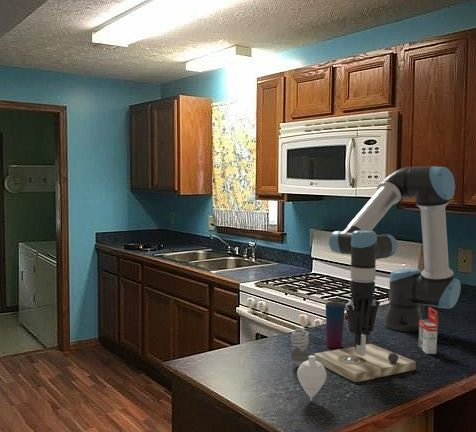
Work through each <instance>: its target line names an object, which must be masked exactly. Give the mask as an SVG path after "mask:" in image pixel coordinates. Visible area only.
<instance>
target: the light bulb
mask: <svg viewBox="0 0 476 432" xmlns="http://www.w3.org/2000/svg"><path fill="white" fill-rule="evenodd" d="M290 335H291V336H290V338H291V339H290V341H291V346H292V349H290V353H291V360H292V361H295V365H296V366H297V367H299V366H300V365H301V364H302V363H303V362H305V361H308V360H309V350H308V347H309V343H310V336H309V335H310V333H309V332H308V331H307V330H305V329H303V328H295V331H292V332H291V334H290Z"/></svg>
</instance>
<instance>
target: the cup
mask: <svg viewBox="0 0 476 432" xmlns="http://www.w3.org/2000/svg"><path fill="white" fill-rule="evenodd" d="M344 304H345V303H344V302H339V301H328V302H326V303H325V321H326V322H325V325H326V326H325V327H326V346H327V347H328V348H331V349H341V348H342V345H343V333H344V322H345V313H346V309H345V307H344Z"/></svg>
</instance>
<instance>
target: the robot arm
mask: <svg viewBox="0 0 476 432" xmlns="http://www.w3.org/2000/svg"><path fill="white" fill-rule="evenodd" d="M455 191H456V183H455V178H454V175H453V173H452V171H451V170H450V169H449V168H447V167H445V166H436V165H433V166H432V165H431V166H429V165H428V166H405V167H401V168H399V169H397V170H395V171H393V172H391V173H390V174H389V175H388V176H386V177H385V178H384V179H383V180H381V182H380V183H379V184H378V185H377V188H376V191H375V193H374V194H373V195H372V197H371V198H370V199H369V200H368V201H367V202H366V203H365V204H364V206H363V207H362V208H361V210H360V211H359V212H358V213H357V214H356V215H355V217H353V219H351V221H350V222H349V223H348V224H347V226H346V227H345V228H344V229H343V230H342V231H341V230H337V231H336V230H335V231H332V232H331V234H330V236H329V239H328V246H329V248H330V250H331V251H332V252H334V253H337V254H341V255H349V256H350V257H351V258H350V259H351V260H350V279H351V280H350V282H349V285H350V286H349V289H350V290H349V291H350V294H351V296H350V298H349V301H348V302H347V303H344V307H345V313H346V317H347V323H348V328H349V332H350V333H352V334H354V342H355V344H356V354H358V355H360V356H365V353H366V345H367V344H368V336H370V335H371V332H373V331H374V326H375V322H376V318H377V313H378V308H379V307H380V305H381V302H380V300H376V299H375V293H376V282H375V280H376V265H377V264H376V263H377V262H376V261H377V260H381V259H387V258H390V257H392V256H395V254H396V253H397V251H398V242H397V239H396V238H395V237H394V236H393V235H392V234H384V233H382V234H377V233H376V231H373V229H374V228H375V227H376V226H377V225H378V223H379V222H380V221H381V220H382V218H384V217H385V215H386V214H387V213H388V211H389V210H390V209H391V207H392V206H393V205H396V204H398V203H399V202H400V201H401V200H402V199H415V206H417V207H418V208H420V218H421V223H420V224H421V236H422V247H423V248H422V249H423V251H422V252H423V263H424V269H423V270H421V269H418V268H404V269H396V270H393V271H391V273H390V277H389V282H388V283H389V297H388V302H389V303H388V308H387V311H386V314H385V317H384V320H383V326H384V327H386V328H388V329H390V330H394V331H397V332H398V331H399V332H410V333H411V332H413V333H414V332H419V320H423V319H422V314H421V309H420V305H424V306H428V307H434V308H435V307H436V308H438V309H447V310H448V309H452V308H453V307H455V305H456V304H457V302H458V300H459V299H460V298H459V297H460V294H461V288H462V285H461V281H460V279H458V278H456V277H455V276H454V271H453V270H452V269H451V268H450V264H449V251H448V250H449V248H448V247H449V246H448V233H447V215H446V214H447V213H446V206H447V205H448V204H449V203H450V200H451V199H452V198H453V197H454V195H455Z"/></svg>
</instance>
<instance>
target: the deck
mask: <svg viewBox="0 0 476 432" xmlns="http://www.w3.org/2000/svg"><path fill="white" fill-rule="evenodd" d="M390 353H394V352H393V351H390V350H388V349H386V348H384V347H380V346H378V345H375V344H373V343H367V344H366V353H365V356H360V355H358V354H356V348H355V347H354V346H351V347H344V348H337V349H333V350H326V351H321V352H316V353H314V354H313V356H316V360H315V361H317V362H320V363H321V364H322V365H323V367H324V368H325V369H326V368H327V369H328V370H330V371H332V372H334V373H336V374H338V375H339V376H342V377H344V378H346V379H348V380H350V381H351V382H354V383H357V382H358V383H359V382H362V381H368V380H373V379H376V378H382V377H387V376H392V375H396V374H402V373H406V372H411V371H415V370H416V367H417V366H416V365H417V363H416V361H415V360H413V359H410V358H407V357H405V356H402V355H400V354H398V353H396V354H397V355H398V361H397V362H395V363H392V362H390V361H389V359H388V355H389V354H390ZM347 358H353V359H354V360H355V362H347V361H345V360H346V359H347Z"/></svg>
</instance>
